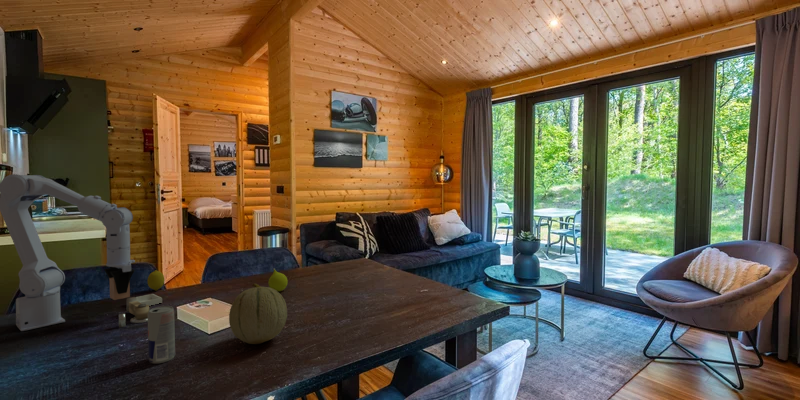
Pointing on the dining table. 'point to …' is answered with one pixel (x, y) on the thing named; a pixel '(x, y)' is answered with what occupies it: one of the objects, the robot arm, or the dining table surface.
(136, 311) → the crank arm
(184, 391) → the dining table surface
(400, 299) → the dining table surface
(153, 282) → the lemon
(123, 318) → the crank base
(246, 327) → the cantaloupe
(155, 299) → the tray
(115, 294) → the block
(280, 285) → the green fig
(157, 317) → the energy drink
